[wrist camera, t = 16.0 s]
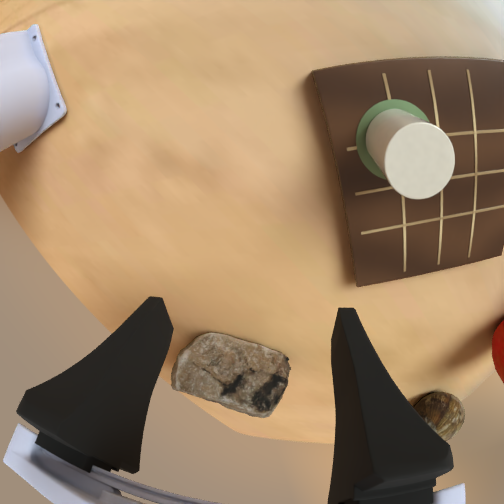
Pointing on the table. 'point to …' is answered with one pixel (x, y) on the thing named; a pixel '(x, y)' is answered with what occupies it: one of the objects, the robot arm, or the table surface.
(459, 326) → the table surface
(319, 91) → the game board
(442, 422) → the seashell
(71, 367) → the robot arm
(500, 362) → the apple
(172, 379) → the stone
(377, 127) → the white cylinder
